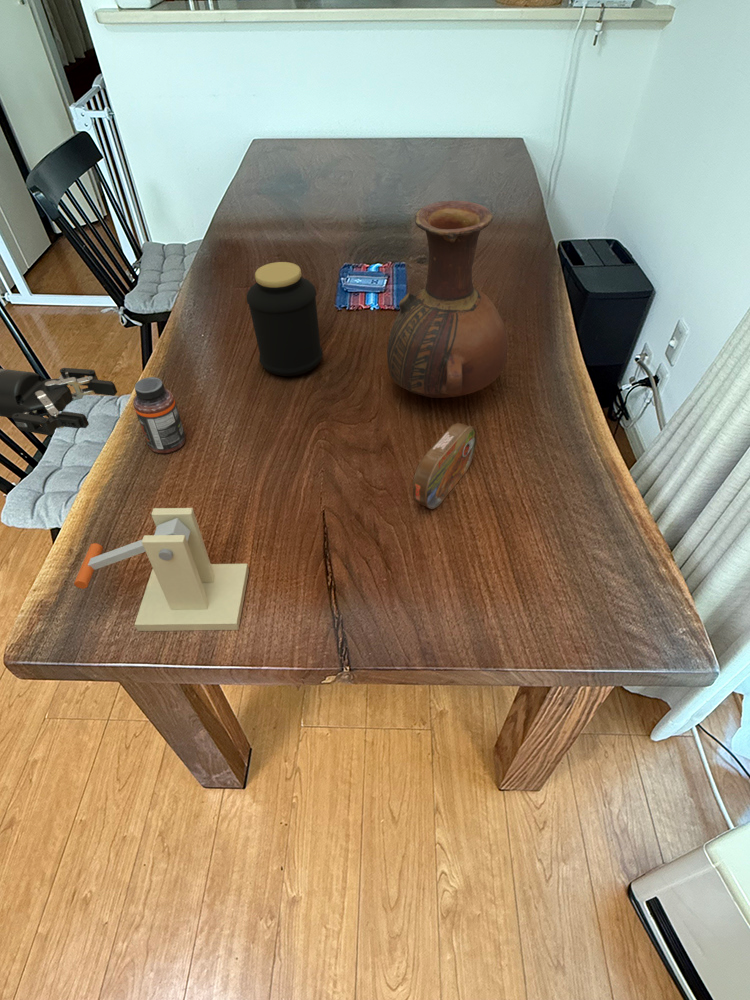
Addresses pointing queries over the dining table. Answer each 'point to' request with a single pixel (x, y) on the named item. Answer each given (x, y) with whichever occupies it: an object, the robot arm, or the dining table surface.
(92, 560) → the lever handle
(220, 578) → the cream lever stand
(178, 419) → the supplement bottle
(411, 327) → the vase
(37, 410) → the robot arm
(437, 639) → the dining table surface
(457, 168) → the dining table surface
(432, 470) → the tin
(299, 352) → the container
